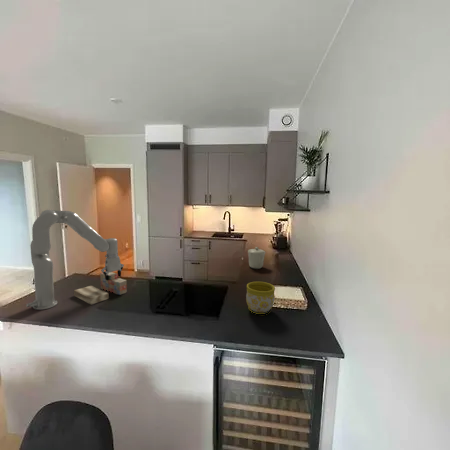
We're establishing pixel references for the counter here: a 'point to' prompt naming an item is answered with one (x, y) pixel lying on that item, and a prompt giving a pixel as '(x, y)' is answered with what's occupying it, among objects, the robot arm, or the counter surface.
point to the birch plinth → (91, 294)
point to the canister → (256, 258)
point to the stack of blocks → (113, 283)
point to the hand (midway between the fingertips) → (113, 278)
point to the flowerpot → (260, 297)
